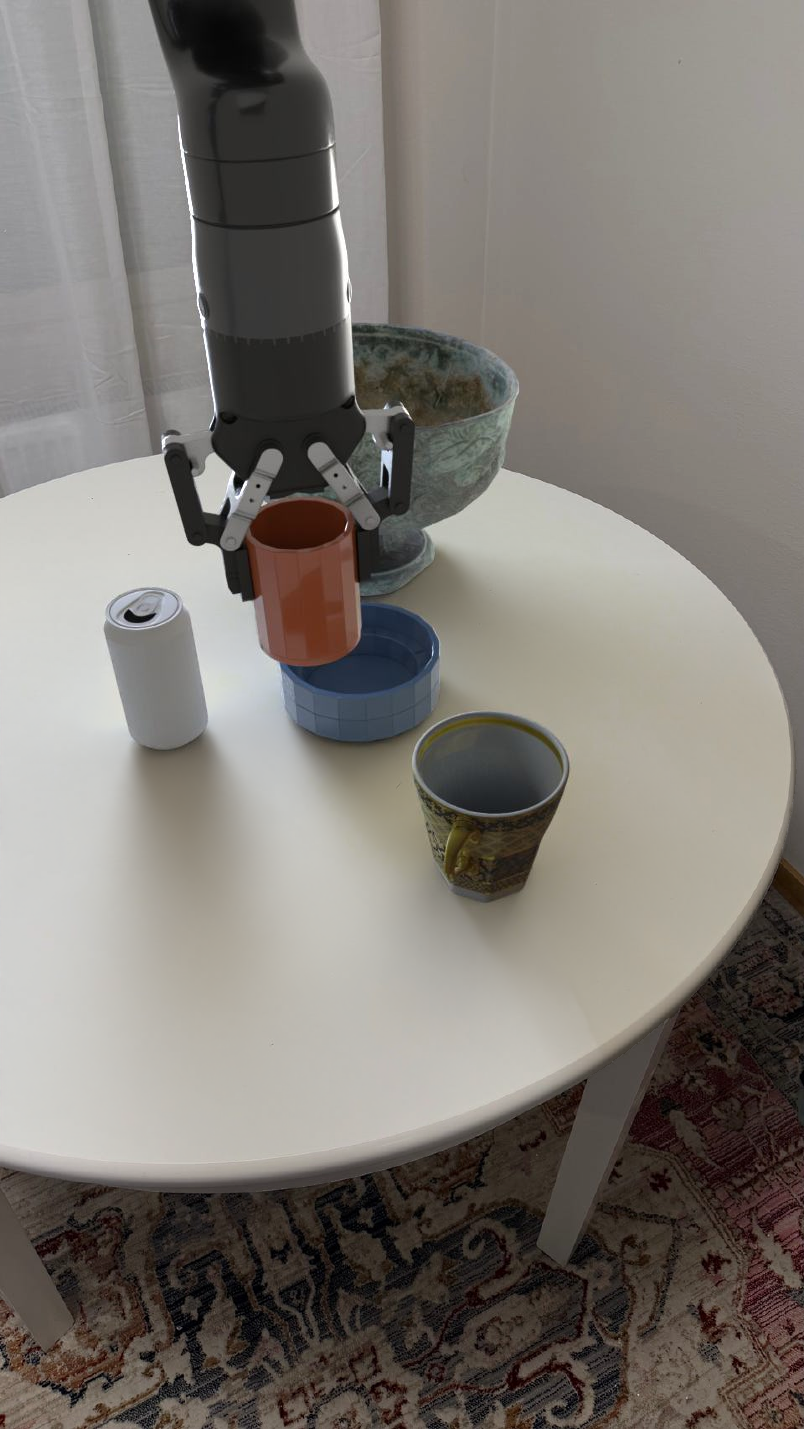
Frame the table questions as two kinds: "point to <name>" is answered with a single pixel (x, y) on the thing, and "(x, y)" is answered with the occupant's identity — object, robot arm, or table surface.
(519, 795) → the ceramic cup
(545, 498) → the table surface
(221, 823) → the table surface
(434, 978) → the table surface
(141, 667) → the beverage can
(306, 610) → the cup
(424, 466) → the decorative bowl
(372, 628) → the bowl
